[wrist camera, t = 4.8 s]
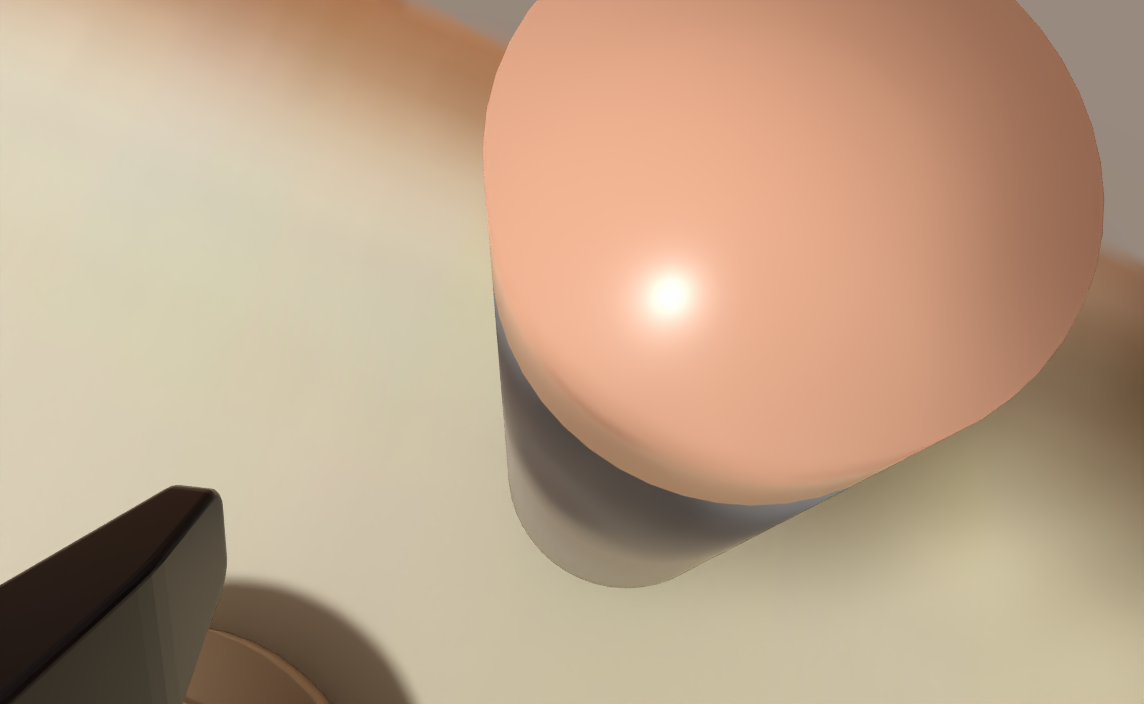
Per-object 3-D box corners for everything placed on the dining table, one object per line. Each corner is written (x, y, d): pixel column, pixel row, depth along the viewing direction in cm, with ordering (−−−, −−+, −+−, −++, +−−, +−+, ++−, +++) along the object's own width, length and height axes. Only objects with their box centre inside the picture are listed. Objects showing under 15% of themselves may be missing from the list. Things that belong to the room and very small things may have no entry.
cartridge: (778, 533, 20) (1223, 321, 7) (560, 625, 19) (634, 567, 6) (682, 326, 21) (921, -168, 8) (474, 405, 20) (394, -4, 8)
